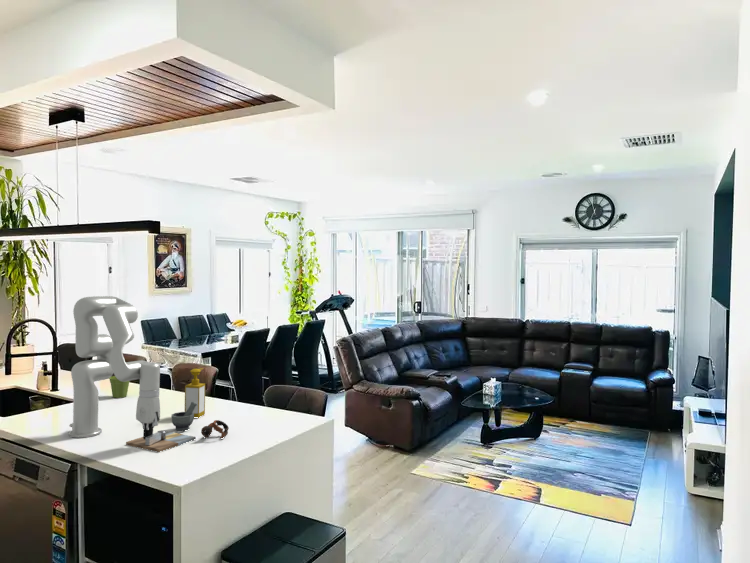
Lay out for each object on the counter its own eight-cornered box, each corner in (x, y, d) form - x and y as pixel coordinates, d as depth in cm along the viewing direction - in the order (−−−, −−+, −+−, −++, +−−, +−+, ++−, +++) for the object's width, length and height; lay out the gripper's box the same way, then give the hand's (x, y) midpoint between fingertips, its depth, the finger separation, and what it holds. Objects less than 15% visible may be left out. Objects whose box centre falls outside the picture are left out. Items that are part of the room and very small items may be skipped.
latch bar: (160, 437, 221) (160, 430, 221) (167, 437, 221) (167, 430, 221) (143, 444, 211) (144, 437, 211) (150, 445, 210) (151, 437, 210)
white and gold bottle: (209, 412, 271) (210, 366, 271) (198, 418, 258) (199, 370, 258) (195, 411, 271) (196, 365, 271) (184, 417, 259) (185, 369, 259)
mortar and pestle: (175, 433, 232) (175, 406, 232) (167, 429, 239) (168, 402, 239) (200, 429, 239) (200, 403, 239) (192, 425, 246) (192, 399, 246)
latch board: (125, 444, 215) (125, 441, 215) (163, 433, 232) (163, 430, 232) (159, 452, 207) (159, 449, 207) (195, 439, 224) (195, 436, 224)
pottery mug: (213, 434, 234) (223, 418, 234) (225, 447, 229) (234, 431, 228) (192, 433, 224) (202, 417, 224) (204, 447, 219) (214, 430, 218)
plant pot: (135, 396, 303) (135, 376, 303) (116, 400, 293) (116, 379, 293) (123, 393, 310) (123, 374, 310) (103, 397, 300) (104, 377, 300)
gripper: (129, 392, 216) (128, 437, 216) (152, 397, 208) (150, 444, 208) (146, 389, 222) (145, 433, 222) (168, 394, 214) (167, 439, 214)
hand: (148, 438), depth 215 cm, fingers closed
